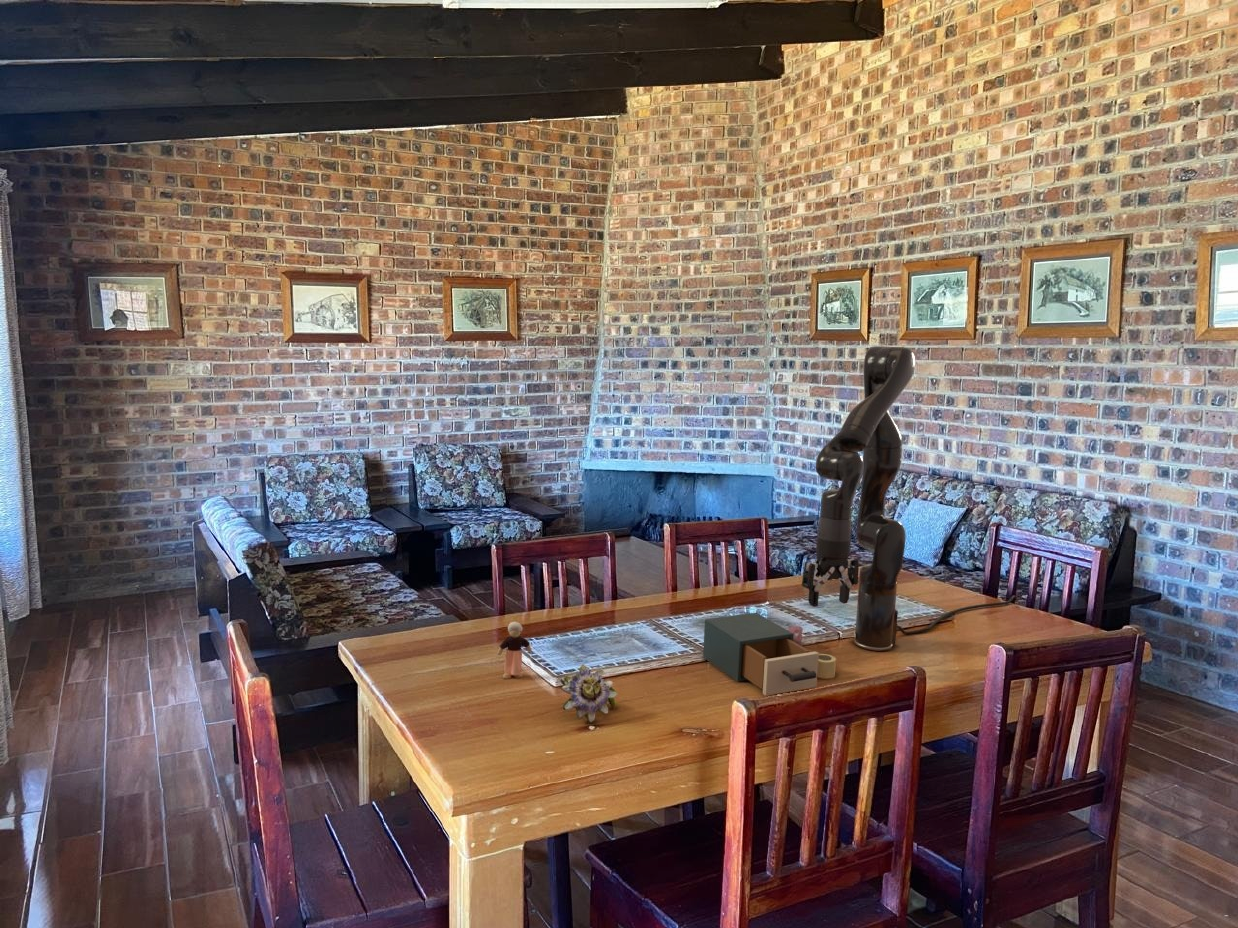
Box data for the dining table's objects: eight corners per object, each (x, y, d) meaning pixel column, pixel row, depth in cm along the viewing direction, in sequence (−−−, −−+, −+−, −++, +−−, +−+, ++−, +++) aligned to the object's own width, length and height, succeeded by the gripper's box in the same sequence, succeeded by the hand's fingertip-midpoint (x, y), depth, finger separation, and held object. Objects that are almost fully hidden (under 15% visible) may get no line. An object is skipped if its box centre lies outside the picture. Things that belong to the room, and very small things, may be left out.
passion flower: (590, 745, 177) (564, 710, 170) (566, 715, 185) (541, 680, 179) (633, 709, 179) (610, 674, 173) (608, 681, 188) (585, 646, 181)
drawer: (828, 694, 190) (831, 660, 188) (777, 703, 184) (779, 668, 183) (778, 662, 207) (780, 631, 205) (730, 670, 201) (731, 638, 200)
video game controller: (792, 662, 213) (807, 639, 212) (775, 652, 214) (790, 629, 212) (792, 647, 223) (806, 625, 221) (776, 638, 223) (790, 616, 222)
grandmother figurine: (501, 681, 193) (501, 626, 191) (495, 675, 197) (496, 621, 195) (533, 676, 197) (534, 622, 195) (527, 669, 200) (528, 616, 198)
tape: (825, 668, 206) (826, 652, 206) (839, 676, 202) (840, 660, 201) (807, 671, 204) (808, 655, 204) (821, 679, 200) (822, 663, 199)
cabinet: (791, 672, 203) (793, 633, 202) (737, 681, 197) (739, 641, 195) (754, 649, 217) (756, 612, 215) (702, 657, 211) (704, 619, 209)
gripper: (819, 542, 194) (813, 612, 197) (869, 537, 200) (863, 606, 203) (798, 534, 201) (793, 602, 203) (848, 530, 207) (842, 596, 209)
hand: (828, 604), depth 203 cm, fingers open, 8 cm apart
